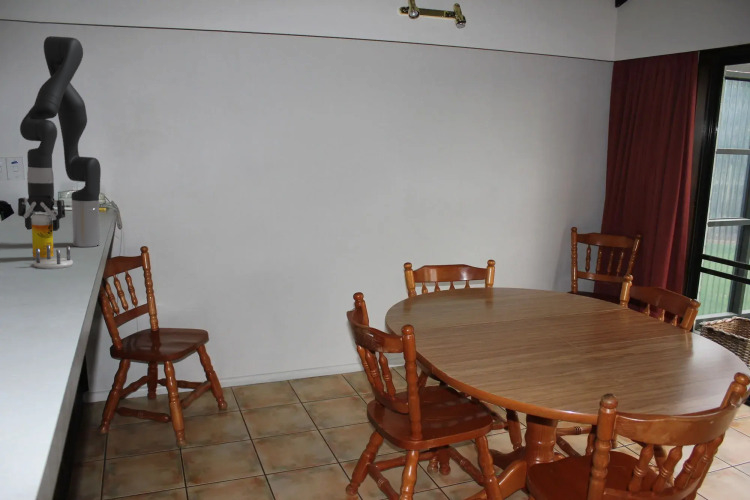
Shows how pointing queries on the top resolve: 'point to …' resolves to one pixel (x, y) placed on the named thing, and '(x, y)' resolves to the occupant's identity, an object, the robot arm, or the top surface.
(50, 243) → the beer can
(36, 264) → the pin tray
